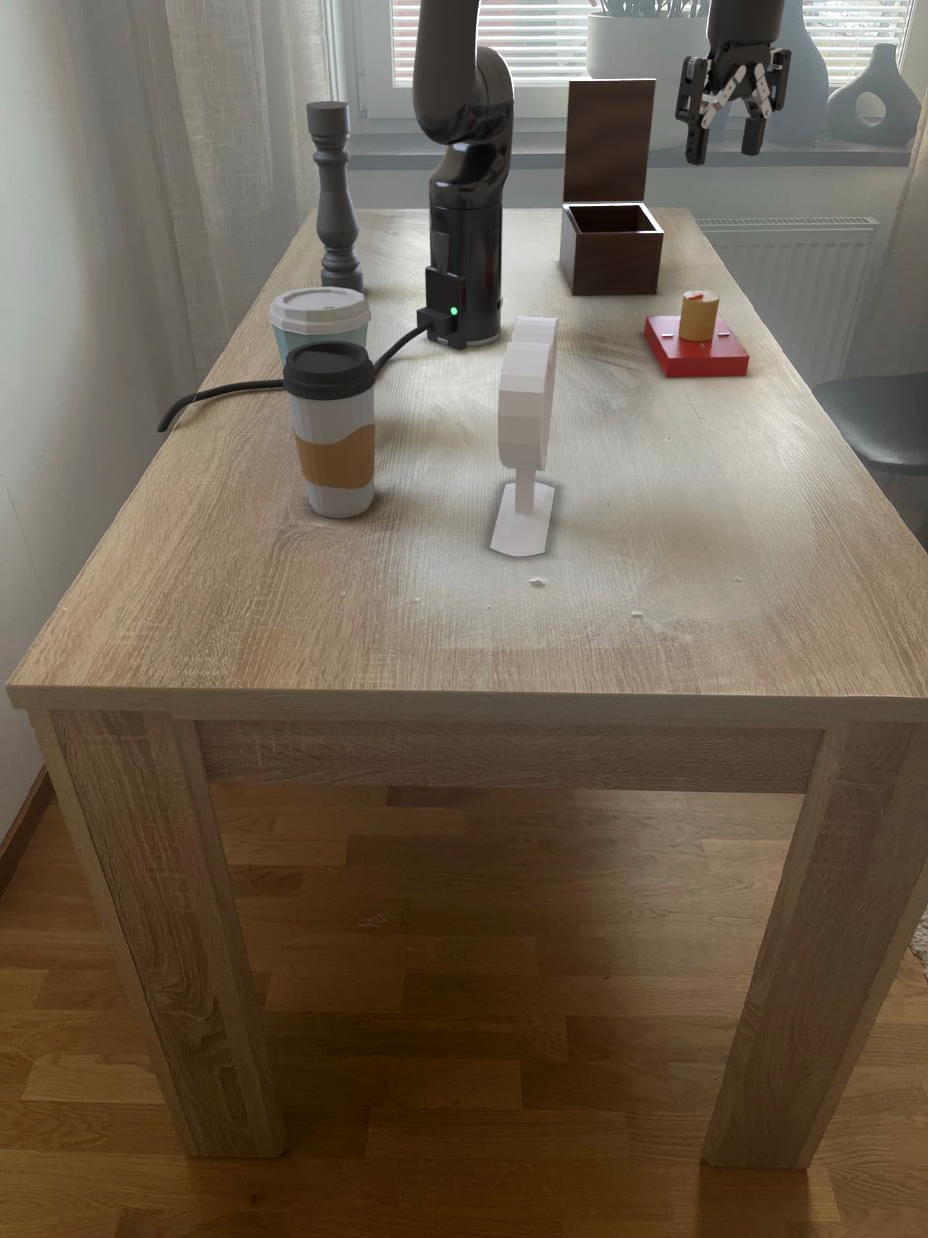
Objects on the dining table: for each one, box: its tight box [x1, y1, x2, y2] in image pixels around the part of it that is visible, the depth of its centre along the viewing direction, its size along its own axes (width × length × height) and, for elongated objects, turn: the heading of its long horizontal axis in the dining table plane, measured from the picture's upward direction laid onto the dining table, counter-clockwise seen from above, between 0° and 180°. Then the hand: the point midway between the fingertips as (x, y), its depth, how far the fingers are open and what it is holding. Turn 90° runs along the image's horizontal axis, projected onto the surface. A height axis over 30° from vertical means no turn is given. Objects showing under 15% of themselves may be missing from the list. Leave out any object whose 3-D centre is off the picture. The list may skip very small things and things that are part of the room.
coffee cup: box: [282, 341, 377, 519], centre depth 86 cm, size 8×8×15 cm
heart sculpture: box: [489, 315, 560, 558], centre depth 83 cm, size 16×5×18 cm, turn 171°
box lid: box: [562, 78, 657, 203], centre depth 140 cm, size 16×13×5 cm
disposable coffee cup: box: [268, 286, 372, 369], centre depth 99 cm, size 11×11×15 cm
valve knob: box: [678, 289, 721, 342], centre depth 116 cm, size 4×4×5 cm
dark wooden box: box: [558, 203, 665, 297], centre depth 140 cm, size 16×13×9 cm
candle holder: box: [305, 100, 365, 295], centre depth 130 cm, size 6×6×25 cm
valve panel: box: [643, 314, 751, 378], centre depth 118 cm, size 14×10×3 cm
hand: (722, 159), depth 105 cm, fingers open, 8 cm apart
